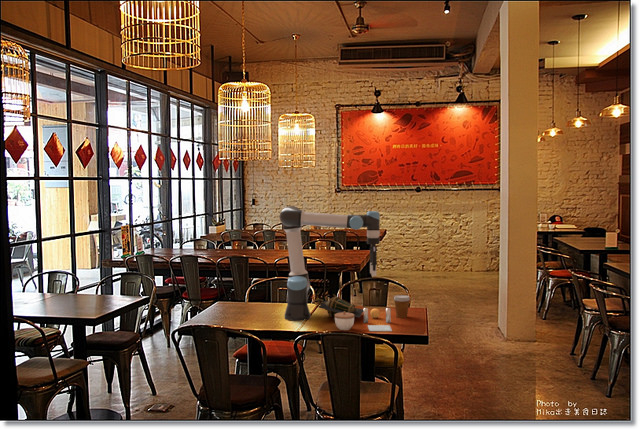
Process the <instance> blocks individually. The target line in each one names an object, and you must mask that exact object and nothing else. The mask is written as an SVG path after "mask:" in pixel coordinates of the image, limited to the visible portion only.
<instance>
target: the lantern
mask: <svg viewBox="0 0 640 430" xmlns="http://www.w3.org/2000/svg"><path fill="white" fill-rule="evenodd" d="M323 300H324V299H318V298H317V299H314V300H313V301H312V303H313V304H314V305H315V306H318V305H319V306H318V309H319V308H320V309H323V310H324V311H327V314H328V315H327V316H326V318H328V317H331V318H335V314H336V313H342V312H344V311H345V312H346V313H352V314H354V318H361V316H362V315H363V314H364V308H363V309H362V308H359V307H357V305H356V304H353V303H350V302H348V301H346V300H344V299H343V298H340V297H339V296H337V295H335V294H333V296H332V297H331V298H329V297H328V300H324V301H323ZM316 301H320V302H318V303H316Z"/></svg>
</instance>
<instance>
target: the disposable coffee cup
mask: <svg viewBox="0 0 640 430" xmlns="http://www.w3.org/2000/svg"><path fill="white" fill-rule="evenodd" d="M410 300H411V297H410V296H409V295H404V294H396V295H394V298H393V301H394V307H395V316H396V318H398V317H399V319H404V318H407V317H408V312H409V304H410Z"/></svg>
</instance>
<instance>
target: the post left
mask: <svg viewBox="0 0 640 430" xmlns="http://www.w3.org/2000/svg"><path fill="white" fill-rule="evenodd" d="M363 310H364V311H363V324H369V307H363Z"/></svg>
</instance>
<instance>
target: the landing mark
mask: <svg viewBox="0 0 640 430" xmlns="http://www.w3.org/2000/svg"><path fill="white" fill-rule="evenodd" d="M367 329H368V331H369V332H393V330H392V327H391V326H390V324H386V325H385V324H382V325H381V324H379V325H377V324H376V325H374V324H373V325H372V324H370V325H369V324H368V325H367Z"/></svg>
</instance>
